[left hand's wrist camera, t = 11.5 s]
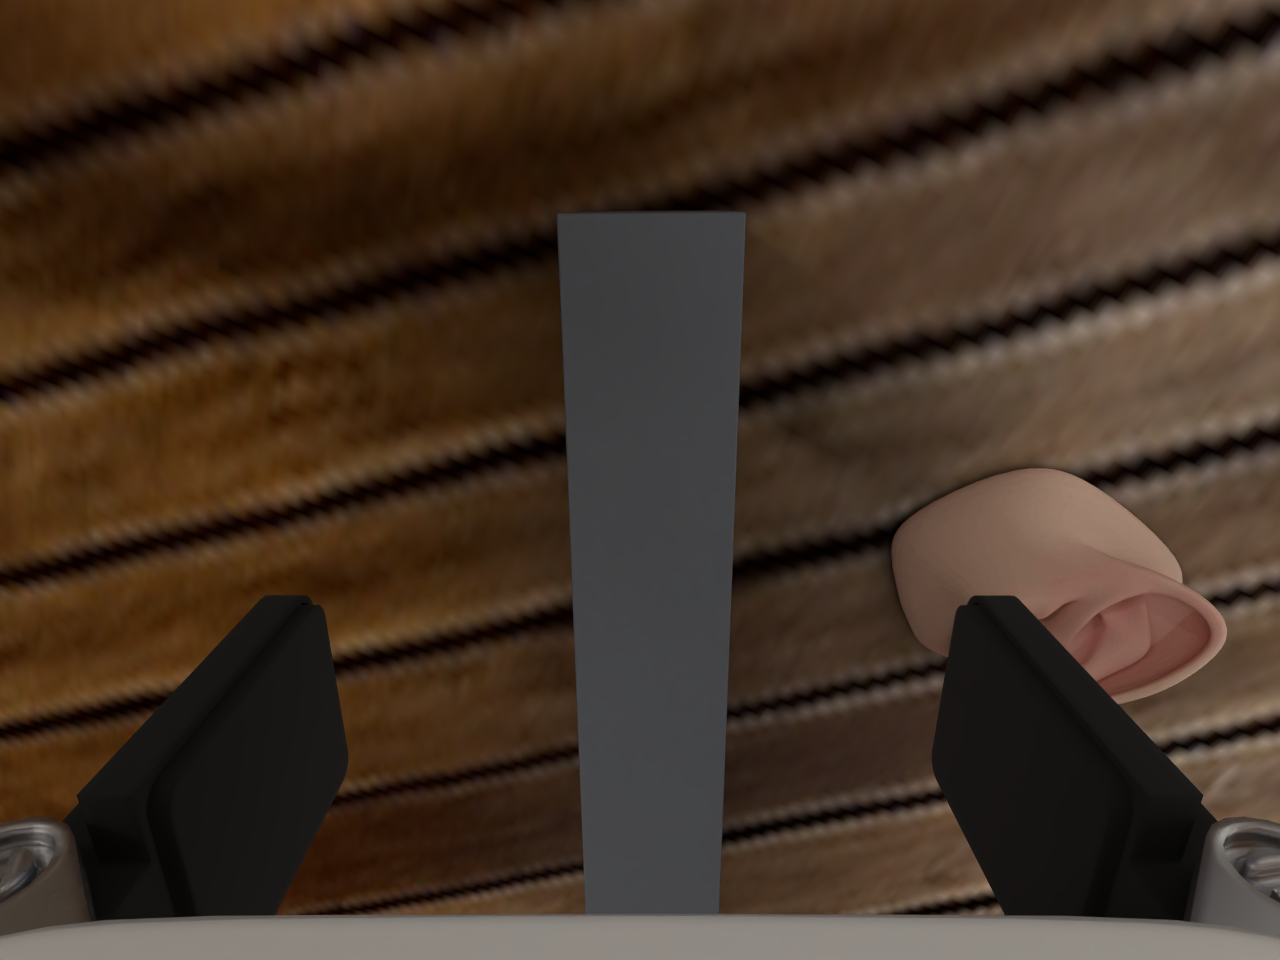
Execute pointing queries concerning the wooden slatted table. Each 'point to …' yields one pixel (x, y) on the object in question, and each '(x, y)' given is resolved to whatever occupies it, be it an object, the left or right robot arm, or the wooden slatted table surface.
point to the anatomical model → (1058, 577)
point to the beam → (651, 542)
